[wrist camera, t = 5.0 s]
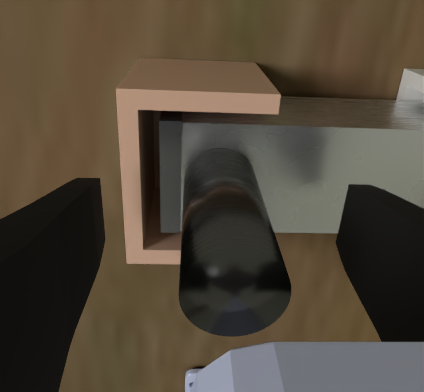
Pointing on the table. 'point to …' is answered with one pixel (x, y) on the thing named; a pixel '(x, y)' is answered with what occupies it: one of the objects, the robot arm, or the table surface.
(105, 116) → the table surface
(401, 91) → the white channel beam
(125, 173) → the socket
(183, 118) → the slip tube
